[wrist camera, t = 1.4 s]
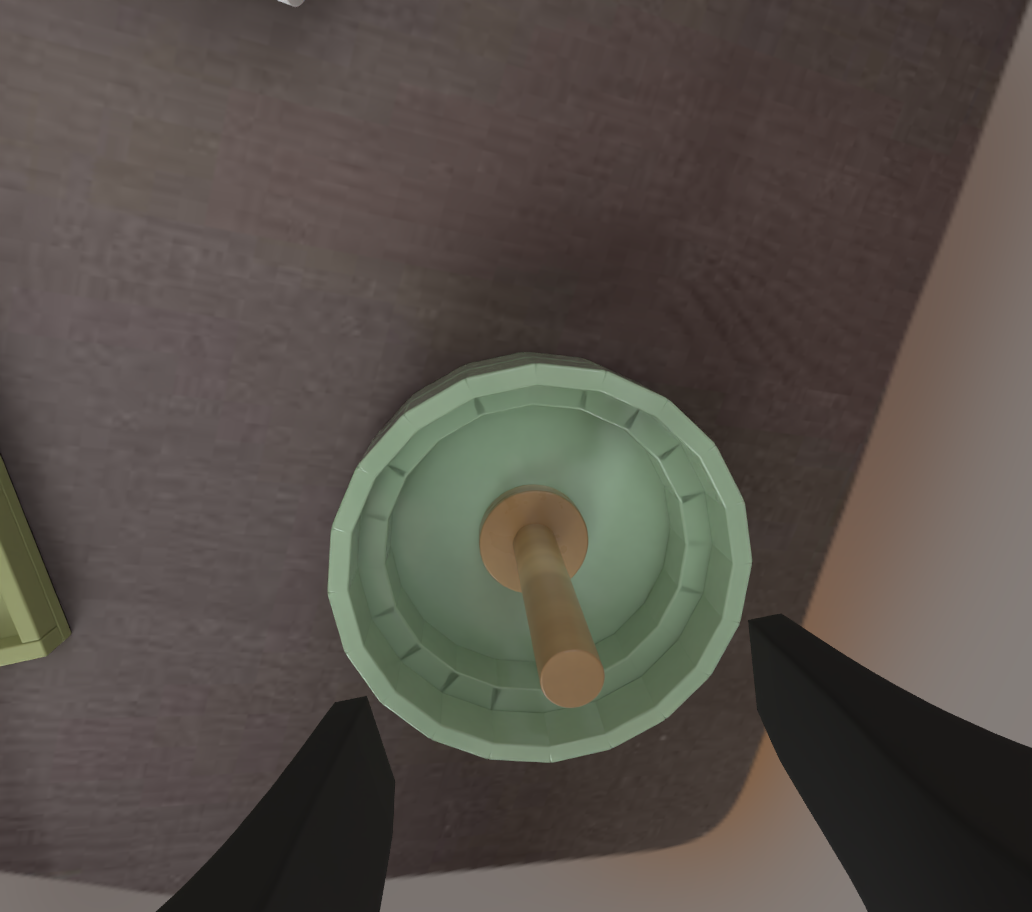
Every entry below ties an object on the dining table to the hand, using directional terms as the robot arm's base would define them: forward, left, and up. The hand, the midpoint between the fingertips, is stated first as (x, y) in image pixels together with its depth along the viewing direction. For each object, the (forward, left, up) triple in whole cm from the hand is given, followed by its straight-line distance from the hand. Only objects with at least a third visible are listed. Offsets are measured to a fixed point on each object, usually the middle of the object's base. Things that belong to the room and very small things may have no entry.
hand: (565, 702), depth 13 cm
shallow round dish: (-1, 0, -11) cm, 11 cm away
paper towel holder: (-1, 0, -11) cm, 11 cm away
